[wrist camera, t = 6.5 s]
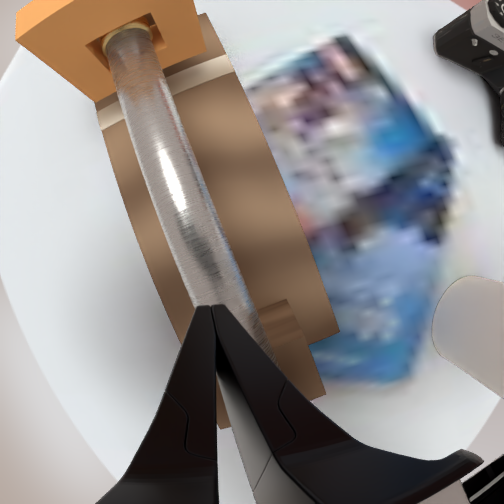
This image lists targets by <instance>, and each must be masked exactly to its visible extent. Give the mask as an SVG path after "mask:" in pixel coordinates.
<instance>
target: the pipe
mask: <svg viewBox="0 0 504 504" xmlns="http://www.w3.org/2000/svg"><path fill="white" fill-rule="evenodd" d="M152 38H153V34H152V31H151V29H150V26H149V23H148V20H147V18H146V15H143V16H141V17H138V18H136V19H134V20H132V21H130V22H128V23H126V24H124V25H122V26H120V27H118V28H116V29H114V30H112V31H110V32H108V33H106V34H104V35H102V36H100V37H99V39H100V43H101V47H102V51H103V54H104V55H105V56H106V57H107V58H108V62H109V66H110V69H111V73H112V77H113V80H114V84H115V87H116V91H117V94H118V98H119V101H120V105H121V108H122V112H123V115H124V118H125V121H126V125H127V128H128V131H129V134H130V137H131V141H132V144H133V147H134V150H135V153H136V156H137V159H138V162H139V165H140V168H141V171H142V174H143V177H144V180H145V182H146V185H147V188H148V191H149V194H150V197H151V199H152V202H153V205H154V208H155V210H156V213H157V216H158V218H159V221H160V224H161V226H162V229H163V232H164V234H165V237H166V240H167V242H168V245H169V247H170V250H171V252H172V255H173V257H174V260H175V262H176V265H177V267H178V270H179V272H180V275H181V277H182V280H183V282H184V284H185V287H186V289H187V292H188V294H189V296H190V299H191V301H192V303H193V306H194V308H196V307H197V306H198V305H210V307H211V305H214V304H224V305H226V307H227V308H228V309H229V310H230V311H231V313H232V314H233V315H234V316H235V317H236V319H237V320H238V321H239V322H240V323H241V325H242V326H243V327H244V328H245V329H246V331H247V332H248V333H249V334H250V335H251V336H252V338H253V339H254V340H255V341H256V342H257V344H258V345H259V346H260V347H261V348H262V349H263V351H264V352H265V353H266V354H267V355H268V356H269V357H270V359H271V360H272V361H273V362H274V363H275V364H276V365H277V367H278V368H279V369H280V366H279V364H278V361H277V359H276V357H275V354H274V352H273V350H272V347H271V345H270V342H269V340H268V337H267V335H266V333H265V330H264V328H263V325H262V323H261V320H260V318H259V316H258V313H257V311H256V308H255V306H254V303H253V301H252V299H251V296H250V294H249V291H248V289H247V286H246V284H245V281H244V279H243V276H242V274H241V272H240V269H239V267H238V264H237V262H236V259H235V257H234V254H233V252H232V249H231V247H230V244H229V242H228V239H227V237H226V234H225V232H224V229H223V227H222V224H221V222H220V219H219V217H218V214H217V211H216V209H215V206H214V204H213V201H212V199H211V196H210V194H209V191H208V189H207V186H206V183H205V181H204V178H203V176H202V173H201V171H200V168H199V165H198V163H197V160H196V158H195V155H194V153H193V150H192V147H191V145H190V142H189V139H188V137H187V134H186V132H185V129H184V126H183V124H182V121H181V119H180V116H179V113H178V111H177V108H176V105H175V103H174V100H173V97H172V95H171V92H170V89H169V87H168V84H167V81H166V79H165V76H164V73H163V70H162V68H161V65H160V62H159V60H158V57H157V54H156V51H155V49H154V46H153V43H152ZM280 370H281V369H280Z"/></svg>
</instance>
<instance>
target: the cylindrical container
mask: <svg viewBox="0 0 504 504" xmlns="http://www.w3.org/2000/svg"><path fill="white" fill-rule="evenodd" d="M432 338H433V342H434V345H435V348H436V350H437V351H438V352H439V354H440V355H441V356H442V357H444V358H445V359H447V360H448V361H450V362H451V363H453V364H454V365H456V366H457V367H458V368H460V369H461V370H463V371H464V372H466V373H467V374H469V375H470V376H471V377H473V378H474V379H476V380H477V381H479V382H480V383H481V384H483V385H484V386H486V387H487V388H489V389H490V390H491V391H493V392H494V393H496V394H497V395H499V396H500V397H501V398H503V399H504V282H500V281H496V280H491V279H486V278H482V277H477V276H466V277H463V278H460V279H459V280H457V281H456V282H454V283H453V284H452V285H451V286H450V287H449V288H448V289H447V290H446V292H445V293H444V294H443V296H442V298H441V299H440V301H439V303H438V305H437V308H436V310H435V314H434V318H433V323H432Z"/></svg>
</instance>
